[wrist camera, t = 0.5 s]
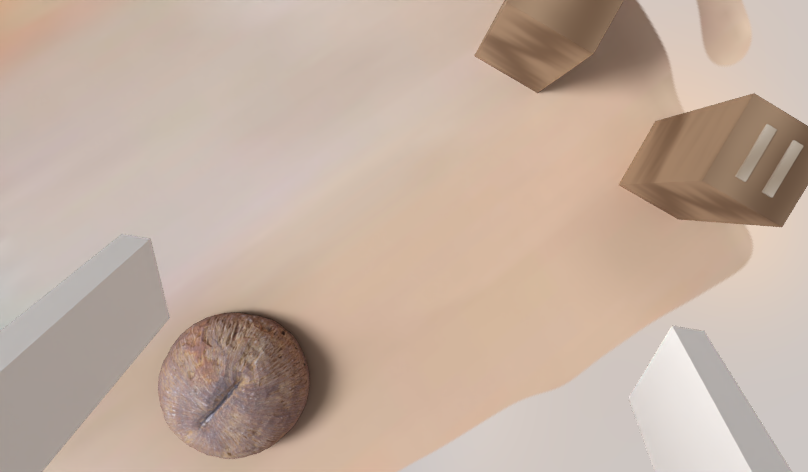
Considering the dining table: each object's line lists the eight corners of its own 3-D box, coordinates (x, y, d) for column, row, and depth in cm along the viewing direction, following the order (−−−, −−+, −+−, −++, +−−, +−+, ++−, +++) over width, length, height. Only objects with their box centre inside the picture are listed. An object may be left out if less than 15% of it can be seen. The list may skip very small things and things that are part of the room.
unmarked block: (474, 55, 36) (506, 2, 26) (510, -12, 36) (558, -93, 26) (537, 92, 36) (593, 54, 26) (574, 26, 36) (645, -38, 26)
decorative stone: (334, 347, 38) (325, 372, 32) (273, 467, 39) (254, 511, 33) (207, 285, 37) (176, 301, 32) (147, 409, 38) (106, 445, 32)
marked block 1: (618, 184, 37) (703, 180, 27) (656, 119, 37) (757, 90, 27) (678, 219, 38) (783, 227, 28) (715, 155, 37) (837, 139, 27)
